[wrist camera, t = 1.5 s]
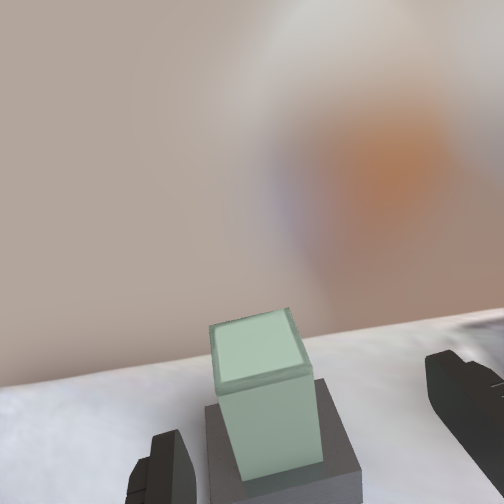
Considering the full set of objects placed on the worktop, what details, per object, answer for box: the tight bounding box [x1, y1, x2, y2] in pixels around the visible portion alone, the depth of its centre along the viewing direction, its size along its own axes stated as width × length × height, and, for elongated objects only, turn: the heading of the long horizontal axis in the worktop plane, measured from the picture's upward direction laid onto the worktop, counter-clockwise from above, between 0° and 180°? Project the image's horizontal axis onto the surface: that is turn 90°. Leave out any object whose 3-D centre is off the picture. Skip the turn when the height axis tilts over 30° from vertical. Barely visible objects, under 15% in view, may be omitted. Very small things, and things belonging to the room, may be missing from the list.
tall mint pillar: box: [209, 308, 323, 482], centre depth 27 cm, size 6×6×9 cm
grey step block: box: [205, 378, 363, 504], centre depth 29 cm, size 10×8×8 cm
